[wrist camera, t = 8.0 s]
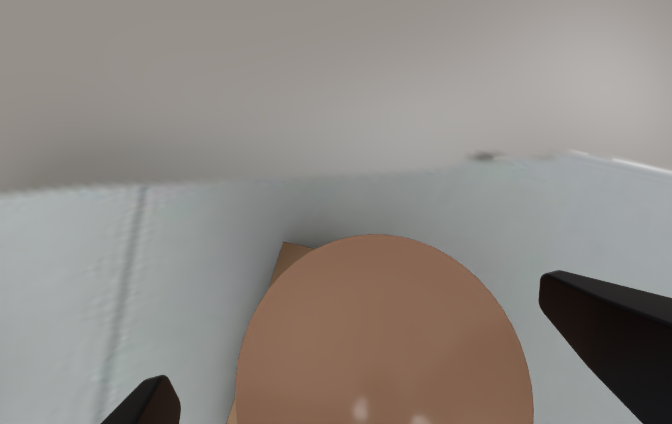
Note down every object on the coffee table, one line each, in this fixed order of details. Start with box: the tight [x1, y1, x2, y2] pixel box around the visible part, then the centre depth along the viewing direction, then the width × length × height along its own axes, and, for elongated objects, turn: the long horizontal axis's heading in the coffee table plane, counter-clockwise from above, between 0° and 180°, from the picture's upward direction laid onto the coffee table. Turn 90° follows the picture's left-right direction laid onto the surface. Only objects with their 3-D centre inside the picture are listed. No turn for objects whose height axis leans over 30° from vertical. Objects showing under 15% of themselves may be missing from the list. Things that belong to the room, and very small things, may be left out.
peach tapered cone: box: [235, 234, 534, 424], centre depth 11 cm, size 6×6×12 cm
